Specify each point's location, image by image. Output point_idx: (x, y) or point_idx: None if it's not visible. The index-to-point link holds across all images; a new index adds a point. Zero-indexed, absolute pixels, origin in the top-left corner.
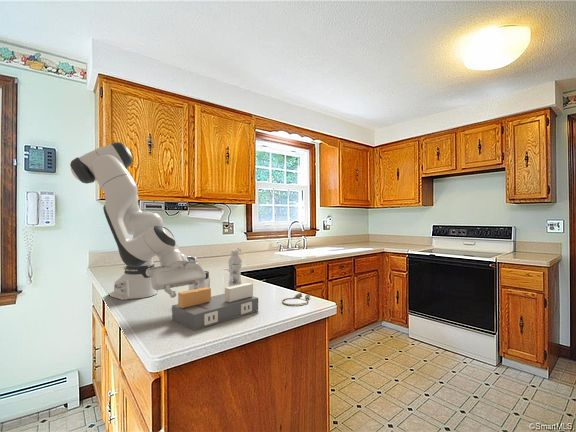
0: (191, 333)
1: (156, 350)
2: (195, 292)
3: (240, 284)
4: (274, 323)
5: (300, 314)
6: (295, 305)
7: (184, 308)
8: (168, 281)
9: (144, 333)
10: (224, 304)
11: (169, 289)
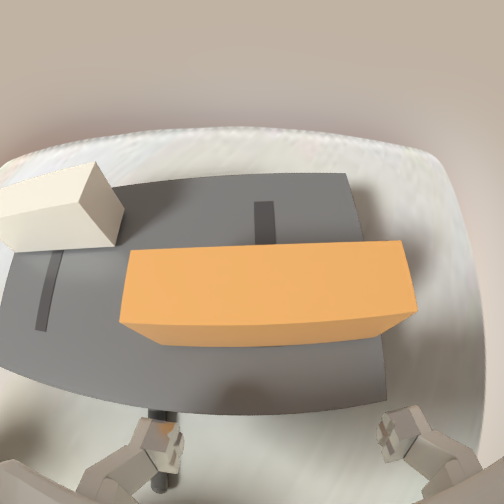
0: None
1: (439, 176)
2: (284, 249)
3: (5, 215)
4: (135, 132)
5: (61, 148)
6: None
7: None
8: (481, 489)
9: (467, 306)
10: (158, 204)
11: (447, 441)
